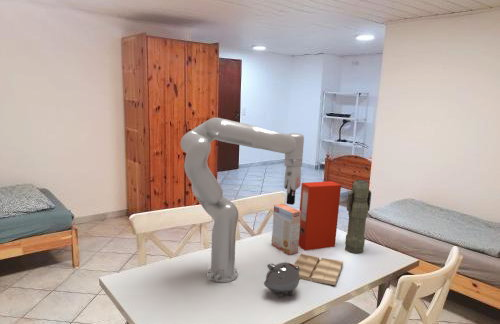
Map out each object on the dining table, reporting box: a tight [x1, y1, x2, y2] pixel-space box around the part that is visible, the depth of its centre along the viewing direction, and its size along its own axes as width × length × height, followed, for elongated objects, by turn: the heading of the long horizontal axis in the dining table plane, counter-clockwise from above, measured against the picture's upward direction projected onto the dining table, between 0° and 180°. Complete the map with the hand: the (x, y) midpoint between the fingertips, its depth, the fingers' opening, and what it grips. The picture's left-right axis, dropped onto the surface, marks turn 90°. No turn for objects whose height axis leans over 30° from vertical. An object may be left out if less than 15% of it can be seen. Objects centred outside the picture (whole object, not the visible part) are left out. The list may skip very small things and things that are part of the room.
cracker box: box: [271, 203, 301, 256], centre depth 175 cm, size 14×6×21 cm, turn 33°
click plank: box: [311, 257, 344, 286], centre depth 154 cm, size 20×10×2 cm, turn 157°
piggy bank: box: [263, 262, 301, 299], centre depth 137 cm, size 11×15×12 cm
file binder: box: [298, 180, 342, 252], centre depth 179 cm, size 8×17×32 cm, turn 111°
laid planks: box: [293, 253, 321, 282], centre depth 158 cm, size 20×9×2 cm, turn 157°
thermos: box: [344, 179, 372, 255], centre depth 176 cm, size 9×12×35 cm
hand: (290, 203), depth 158 cm, fingers closed
